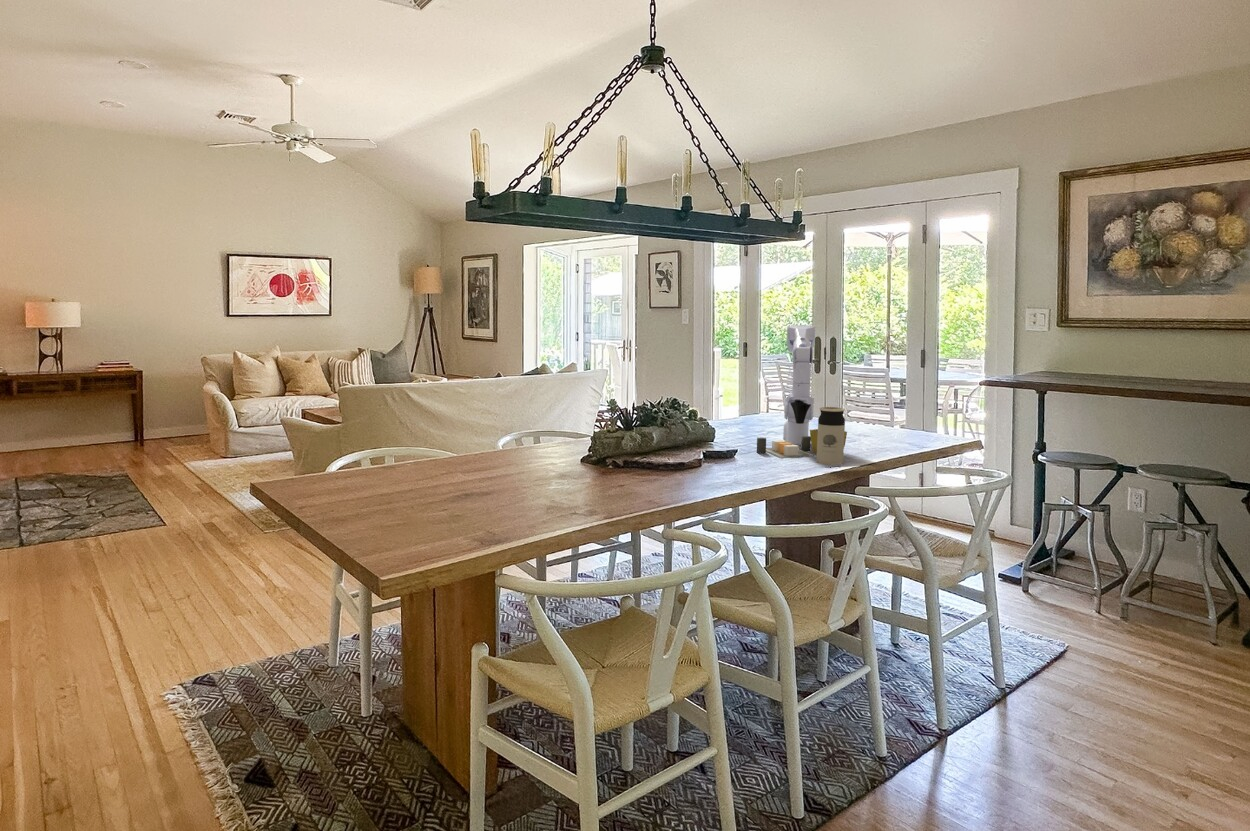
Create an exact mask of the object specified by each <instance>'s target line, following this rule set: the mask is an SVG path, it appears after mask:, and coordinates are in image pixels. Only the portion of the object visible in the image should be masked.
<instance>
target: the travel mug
mask: <svg viewBox="0 0 1250 831" xmlns="http://www.w3.org/2000/svg"><path fill="white" fill-rule="evenodd" d="M819 410H820V415H819V416H818V420H817V422H818V423H817V429H818V439H817V454H816V462H817V463H818V464H820V465H821V464H822V465H832V466H837V467H839V468H842V467H841V466H838V465H842V464H843V463H844V449H845V447H844V431H846V430H845V427H846V426H845V425H846V419H845V416H844V412H845V408H844V407H837V406H836V407H835V406H823V407H822V406H821V407H819ZM832 466H829V467H830V468H829V469H832V468H831V467H832Z"/></svg>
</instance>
